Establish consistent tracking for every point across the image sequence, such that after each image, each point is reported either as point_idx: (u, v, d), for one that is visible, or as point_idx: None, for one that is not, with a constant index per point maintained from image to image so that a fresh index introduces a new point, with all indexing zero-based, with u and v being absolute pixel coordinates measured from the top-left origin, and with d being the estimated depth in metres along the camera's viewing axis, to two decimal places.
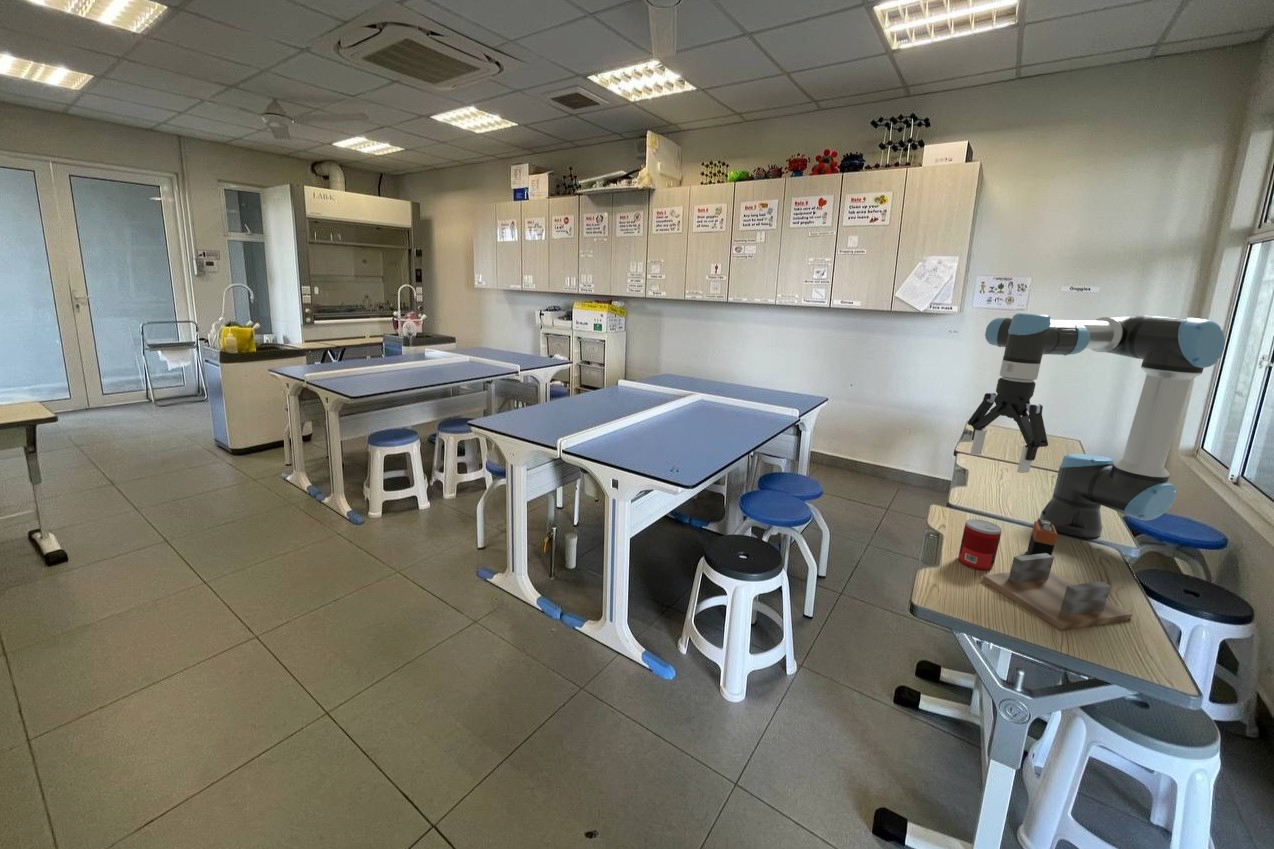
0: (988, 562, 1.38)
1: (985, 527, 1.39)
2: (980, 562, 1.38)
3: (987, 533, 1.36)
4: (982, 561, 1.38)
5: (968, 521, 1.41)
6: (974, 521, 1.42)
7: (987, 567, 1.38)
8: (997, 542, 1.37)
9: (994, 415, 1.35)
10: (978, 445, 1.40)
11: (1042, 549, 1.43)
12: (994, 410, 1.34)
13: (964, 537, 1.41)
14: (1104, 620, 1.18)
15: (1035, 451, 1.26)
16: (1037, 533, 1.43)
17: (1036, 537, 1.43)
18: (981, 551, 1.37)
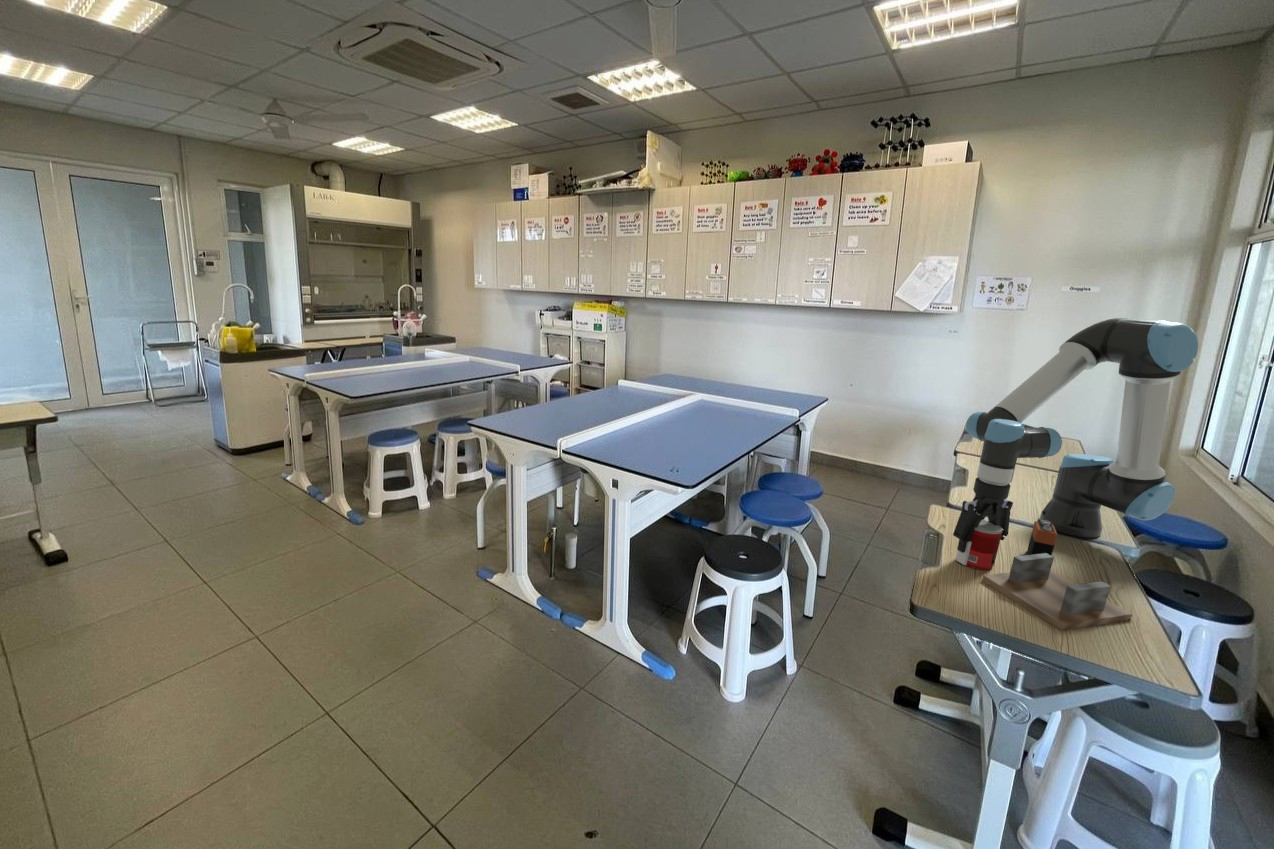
0: (989, 562, 1.38)
1: (985, 527, 1.39)
2: (981, 561, 1.38)
3: (988, 532, 1.36)
4: (983, 561, 1.38)
5: None
6: None
7: (987, 567, 1.38)
8: (998, 542, 1.37)
9: (989, 516, 1.40)
10: None
11: (1042, 549, 1.43)
12: None
13: None
14: (1104, 620, 1.18)
15: (961, 543, 1.39)
16: (1037, 533, 1.43)
17: (1036, 537, 1.43)
18: (981, 551, 1.37)
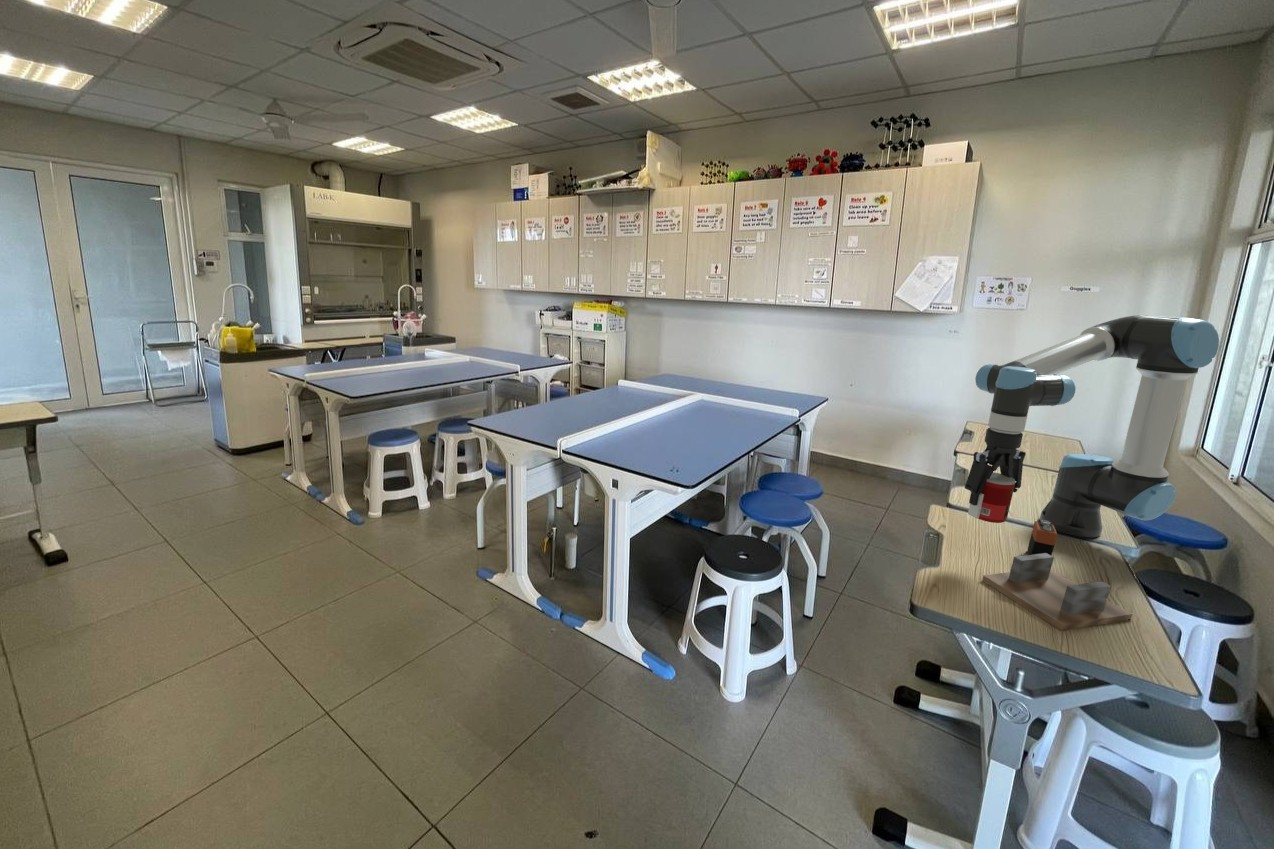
0: (1002, 514, 1.34)
1: (998, 478, 1.35)
2: (993, 514, 1.35)
3: (1001, 483, 1.32)
4: (996, 514, 1.34)
5: None
6: None
7: (1000, 519, 1.35)
8: (1011, 493, 1.33)
9: (1002, 468, 1.37)
10: None
11: (1042, 549, 1.43)
12: None
13: None
14: (1104, 620, 1.18)
15: (973, 496, 1.36)
16: (1037, 533, 1.43)
17: (1036, 537, 1.43)
18: (994, 503, 1.34)
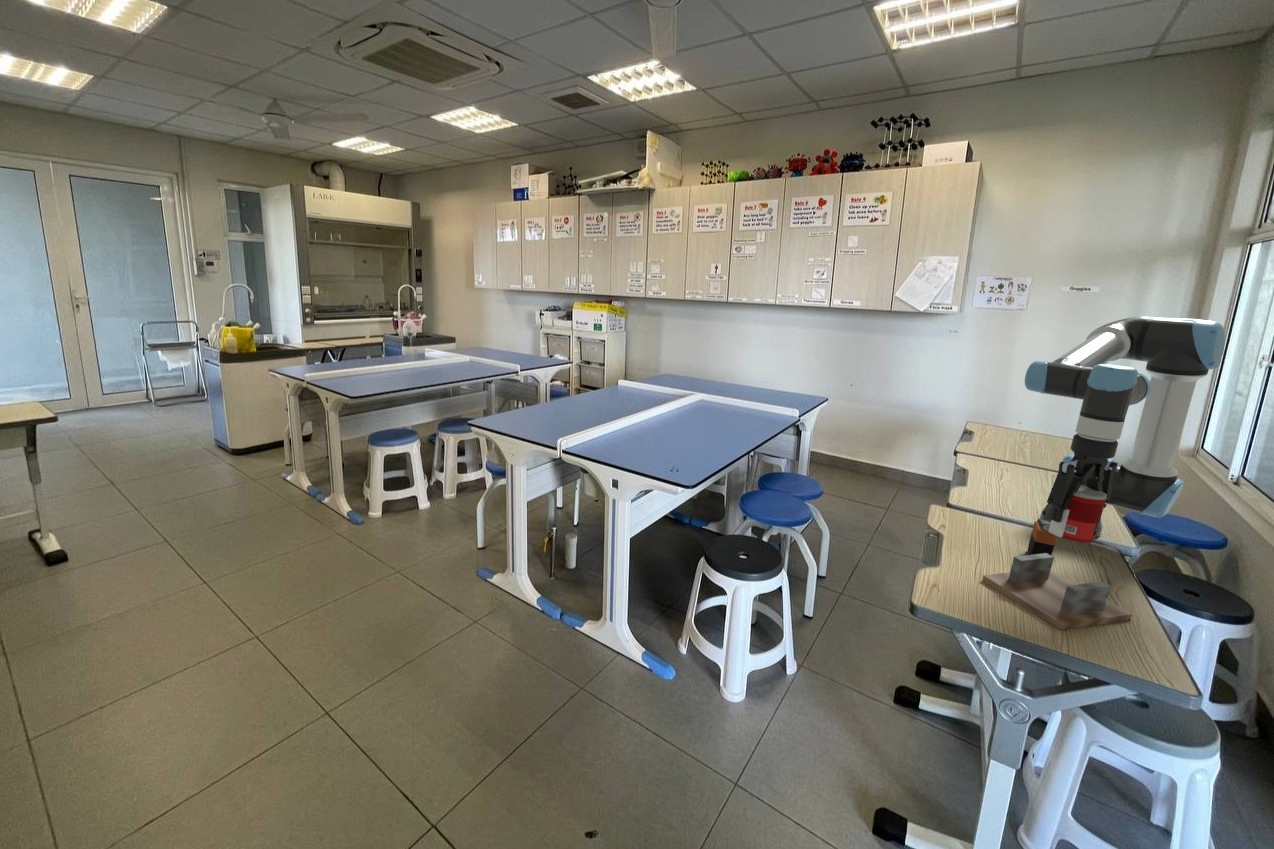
0: (1090, 533, 1.18)
1: (1085, 492, 1.19)
2: (1081, 532, 1.18)
3: (1091, 498, 1.16)
4: (1083, 532, 1.18)
5: None
6: None
7: (1089, 539, 1.18)
8: (1102, 509, 1.17)
9: (1089, 480, 1.20)
10: None
11: (1042, 549, 1.43)
12: None
13: None
14: (1104, 620, 1.18)
15: (1057, 512, 1.19)
16: (1037, 533, 1.43)
17: (1036, 537, 1.43)
18: (1082, 520, 1.17)
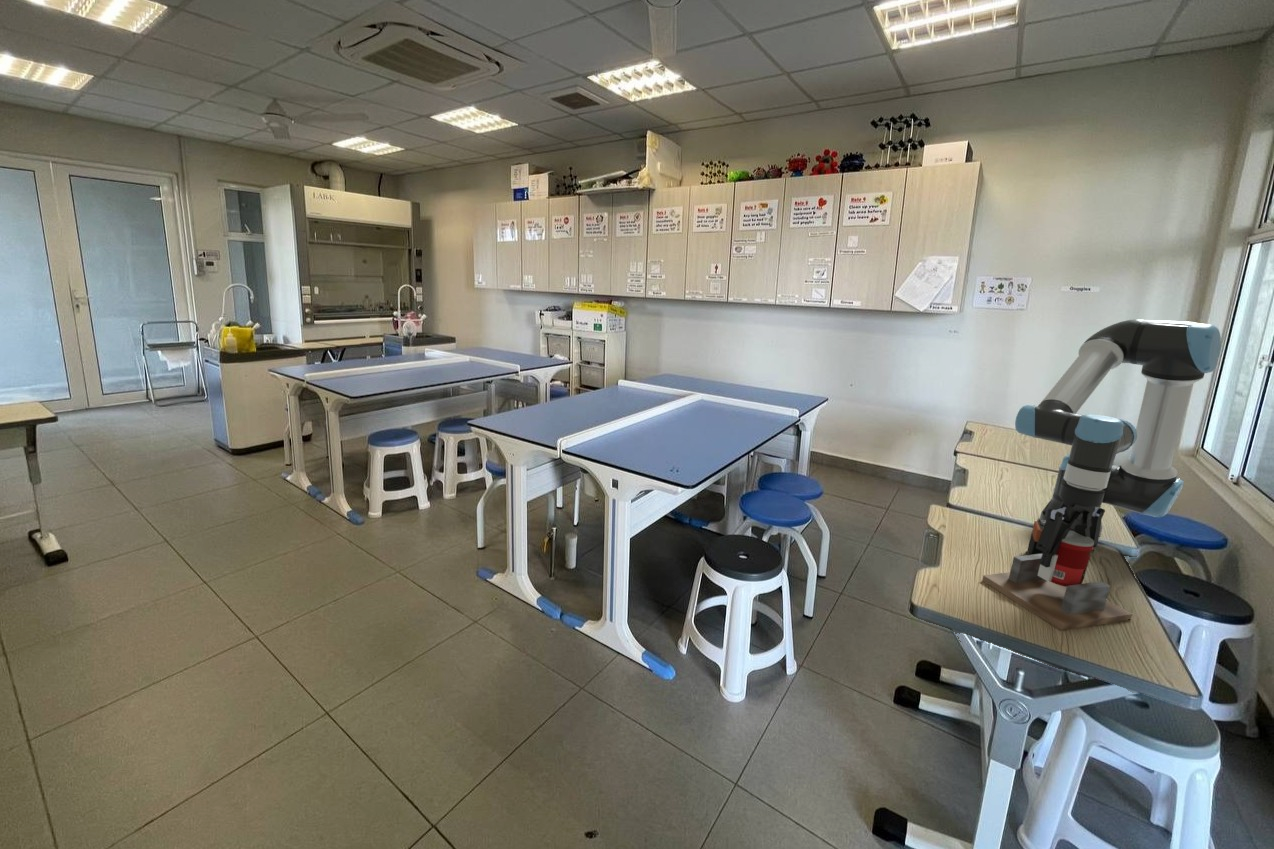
0: (1078, 578, 1.20)
1: (1073, 538, 1.21)
2: (1069, 578, 1.21)
3: (1078, 545, 1.19)
4: (1071, 578, 1.21)
5: None
6: None
7: (1076, 584, 1.21)
8: (1089, 555, 1.20)
9: (1077, 525, 1.23)
10: None
11: None
12: None
13: None
14: (1104, 620, 1.18)
15: (1046, 557, 1.22)
16: (1037, 533, 1.43)
17: (1036, 537, 1.43)
18: (1070, 566, 1.20)
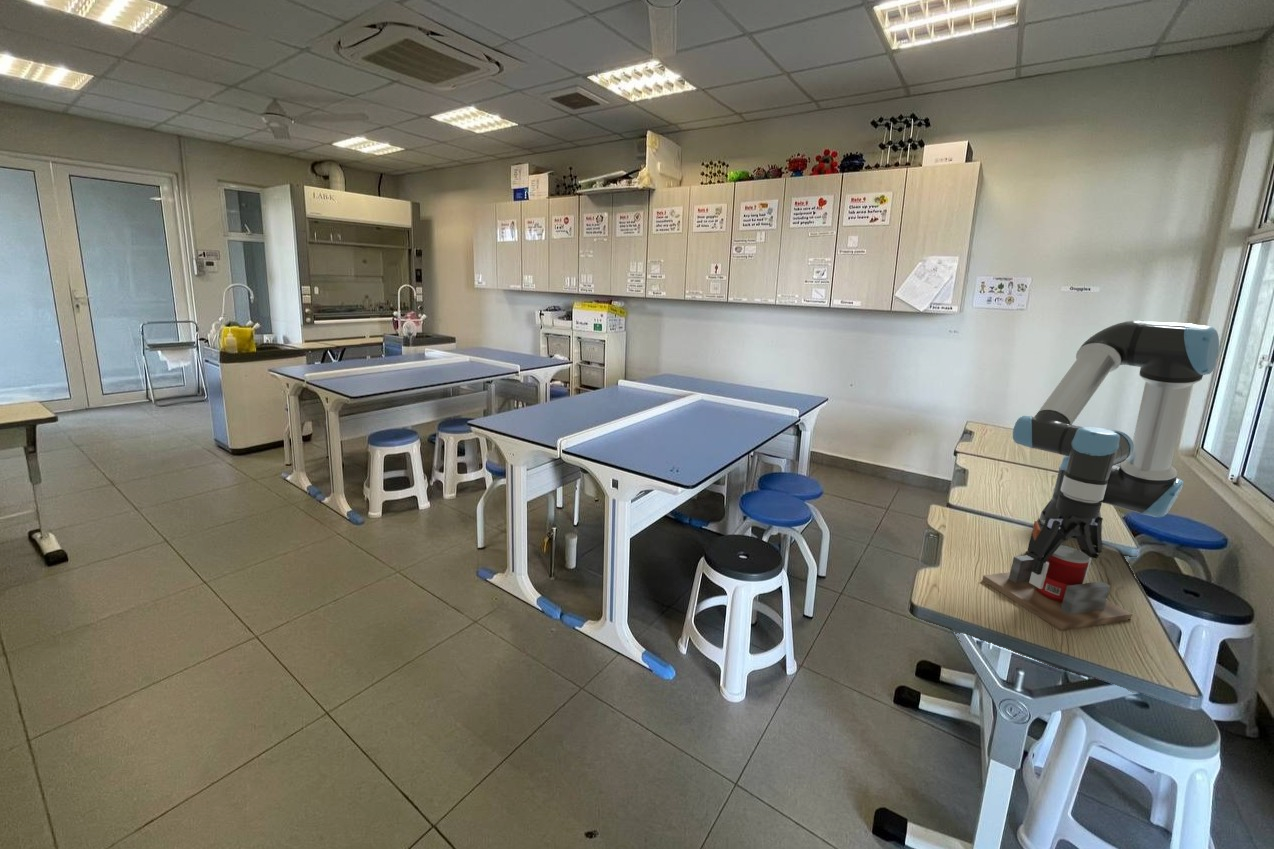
0: None
1: (1069, 554, 1.23)
2: (1064, 594, 1.22)
3: (1074, 561, 1.20)
4: None
5: None
6: None
7: None
8: (1084, 572, 1.21)
9: None
10: None
11: None
12: None
13: None
14: (1104, 620, 1.18)
15: (1037, 564, 1.22)
16: (1037, 533, 1.43)
17: (1036, 537, 1.43)
18: (1066, 582, 1.21)
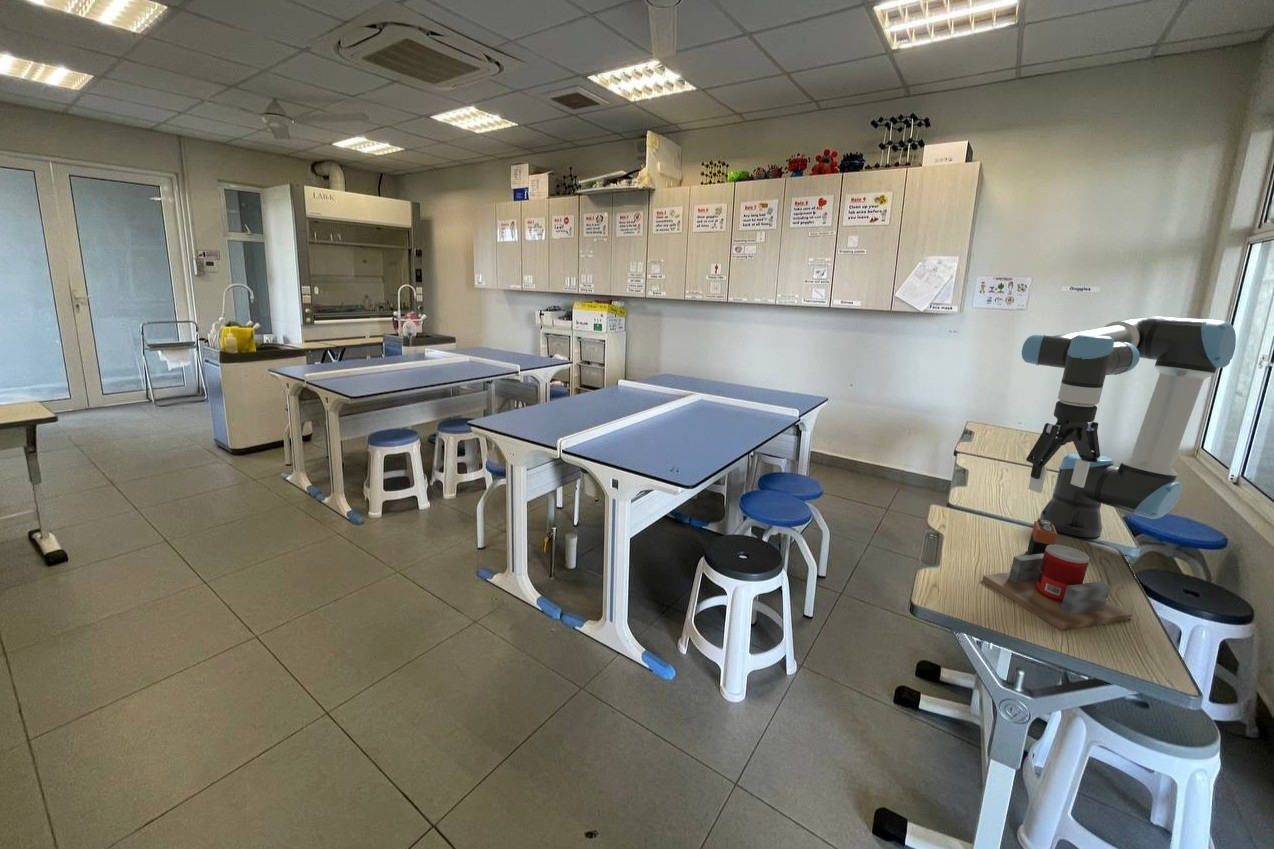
0: None
1: (1069, 554, 1.23)
2: (1064, 594, 1.22)
3: (1074, 561, 1.20)
4: None
5: (1049, 547, 1.25)
6: (1055, 547, 1.26)
7: None
8: (1084, 572, 1.21)
9: (1075, 441, 1.29)
10: (1077, 475, 1.31)
11: (1042, 549, 1.43)
12: None
13: (1044, 565, 1.25)
14: (1104, 620, 1.18)
15: (1036, 469, 1.26)
16: (1037, 533, 1.43)
17: (1036, 537, 1.43)
18: (1066, 582, 1.21)
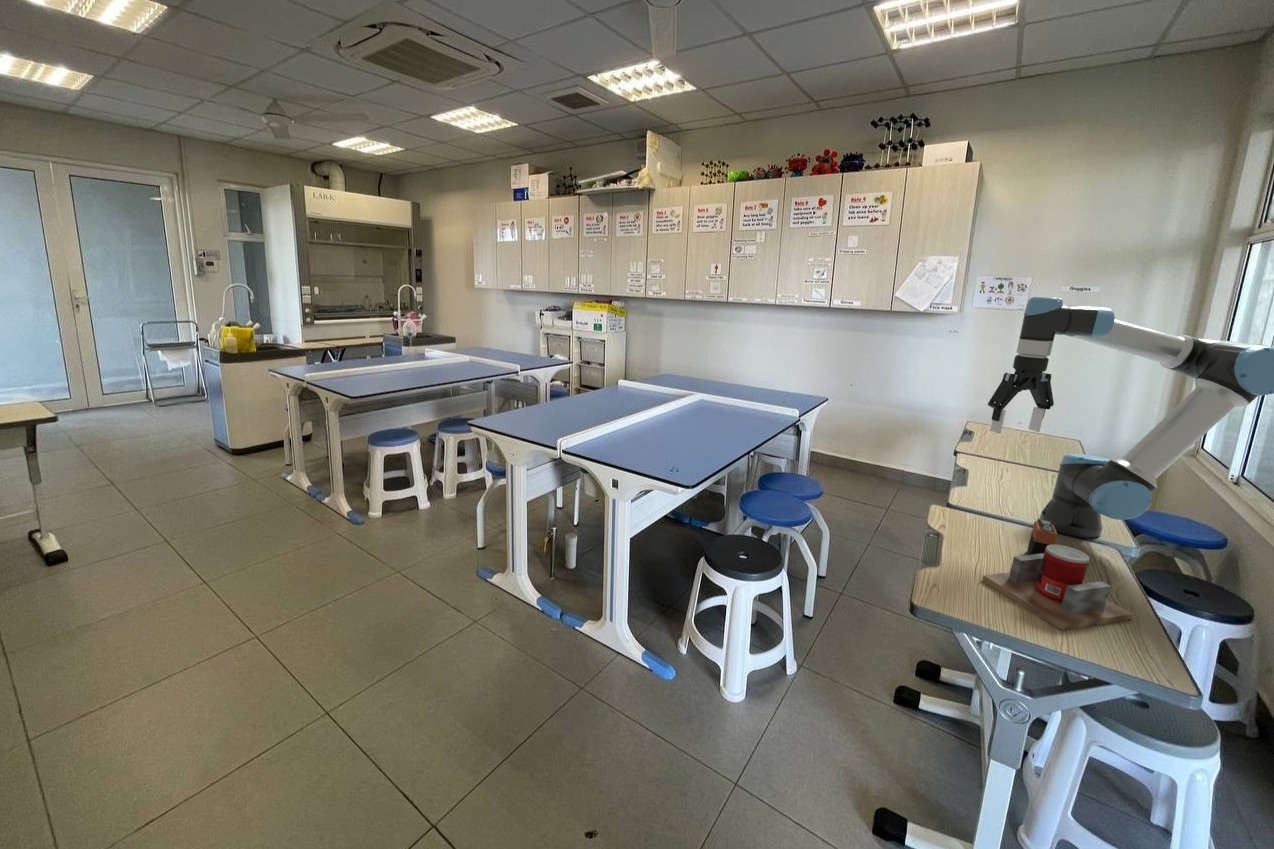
0: None
1: (1069, 554, 1.23)
2: (1064, 594, 1.22)
3: (1074, 561, 1.20)
4: None
5: (1048, 547, 1.25)
6: (1055, 547, 1.26)
7: None
8: (1084, 572, 1.21)
9: (1032, 391, 1.49)
10: (1034, 421, 1.52)
11: (1042, 549, 1.43)
12: None
13: (1044, 565, 1.25)
14: (1104, 620, 1.18)
15: (996, 412, 1.47)
16: (1037, 533, 1.43)
17: (1036, 537, 1.43)
18: (1066, 582, 1.21)
